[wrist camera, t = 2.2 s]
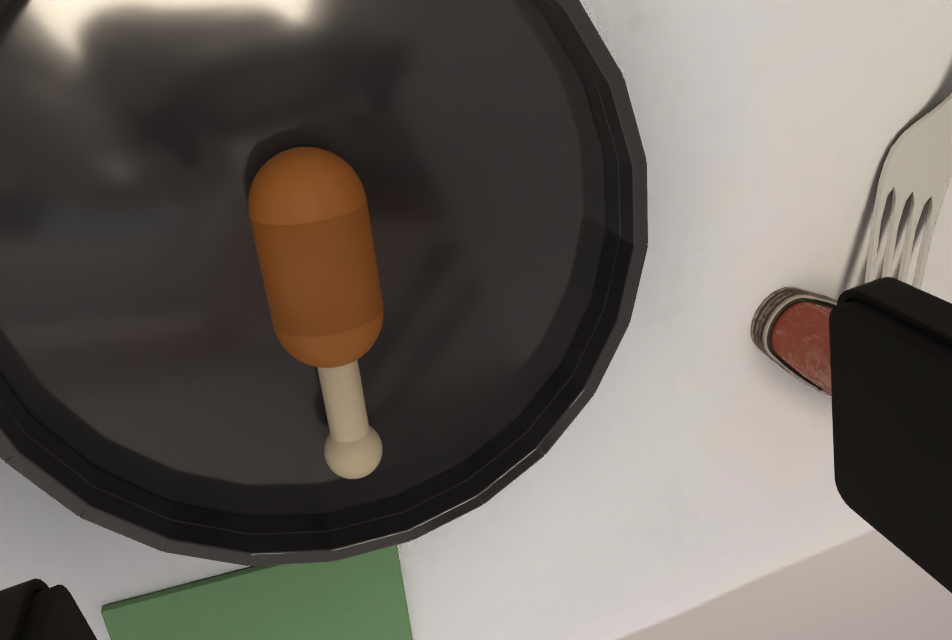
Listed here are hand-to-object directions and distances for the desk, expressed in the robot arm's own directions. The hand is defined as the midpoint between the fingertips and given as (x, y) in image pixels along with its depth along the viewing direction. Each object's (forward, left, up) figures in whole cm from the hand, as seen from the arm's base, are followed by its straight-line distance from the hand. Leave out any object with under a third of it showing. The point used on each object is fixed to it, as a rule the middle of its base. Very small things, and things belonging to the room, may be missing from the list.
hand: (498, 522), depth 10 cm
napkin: (-5, -16, -17) cm, 24 cm away
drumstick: (-1, -3, -17) cm, 17 cm away
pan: (-1, -2, -17) cm, 17 cm away
